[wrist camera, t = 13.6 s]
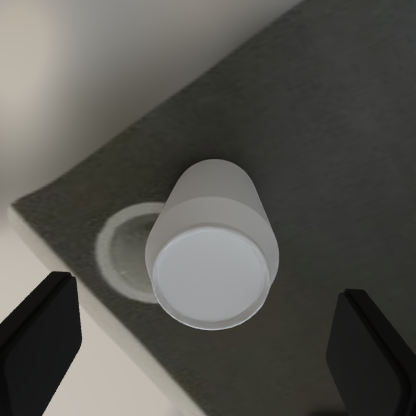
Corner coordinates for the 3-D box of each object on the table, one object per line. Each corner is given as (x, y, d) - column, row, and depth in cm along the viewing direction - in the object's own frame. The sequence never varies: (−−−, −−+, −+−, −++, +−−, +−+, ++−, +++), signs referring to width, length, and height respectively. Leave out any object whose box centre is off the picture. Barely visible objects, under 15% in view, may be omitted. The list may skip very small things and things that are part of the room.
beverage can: (163, 171, 24) (110, 236, 12) (242, 145, 23) (264, 189, 11) (190, 242, 25) (167, 356, 14) (264, 220, 24) (302, 323, 13)
